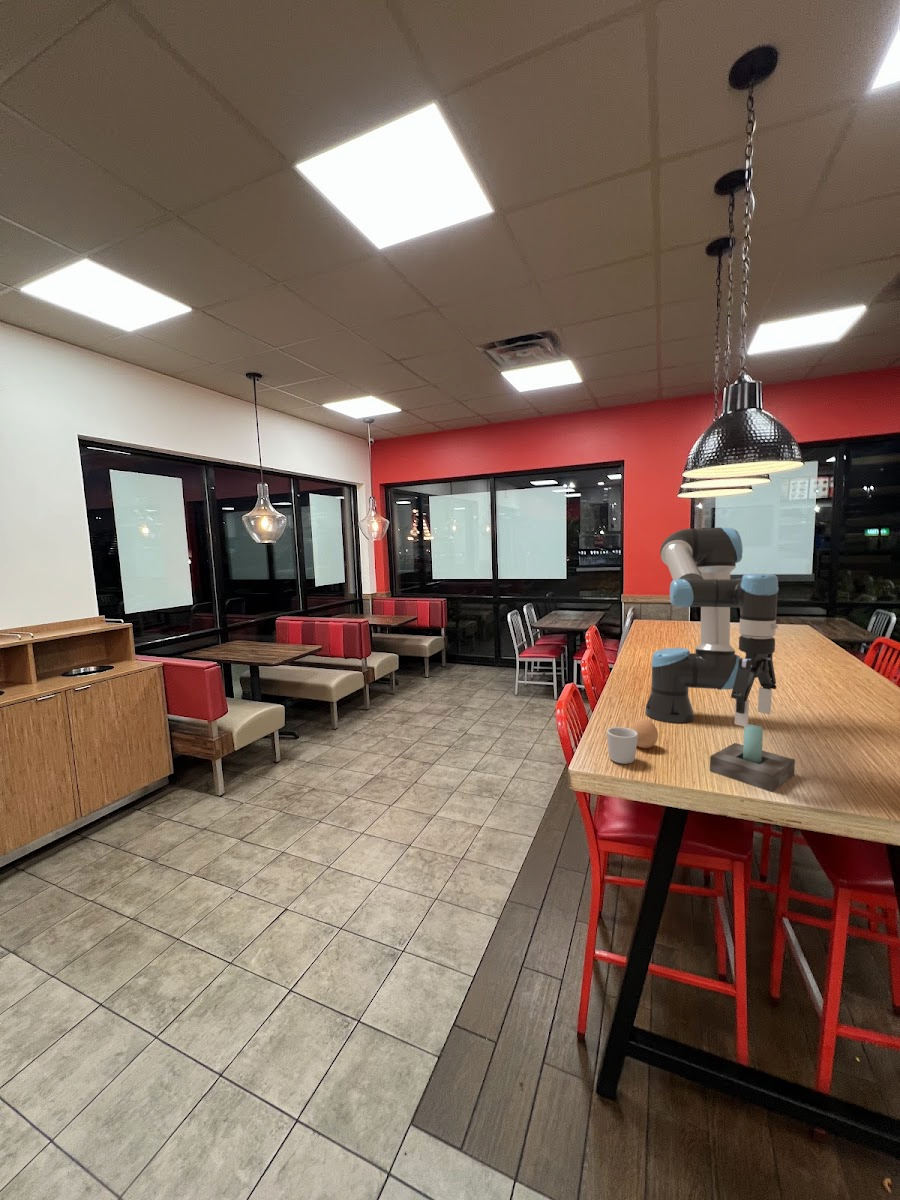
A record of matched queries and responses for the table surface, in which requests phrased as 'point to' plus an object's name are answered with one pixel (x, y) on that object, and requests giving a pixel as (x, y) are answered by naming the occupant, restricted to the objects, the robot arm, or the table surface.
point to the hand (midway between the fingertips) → (753, 719)
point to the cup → (622, 744)
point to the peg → (753, 743)
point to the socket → (752, 767)
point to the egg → (645, 733)
